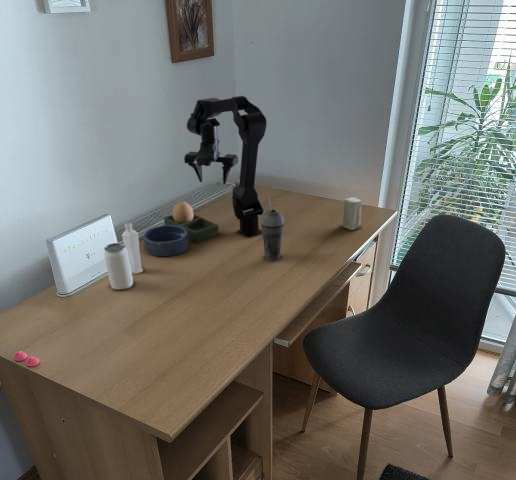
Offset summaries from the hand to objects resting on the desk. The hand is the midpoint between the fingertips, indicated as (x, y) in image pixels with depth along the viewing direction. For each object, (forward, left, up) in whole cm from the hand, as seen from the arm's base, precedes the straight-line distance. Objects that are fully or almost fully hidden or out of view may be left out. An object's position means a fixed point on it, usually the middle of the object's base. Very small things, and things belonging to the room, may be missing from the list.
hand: (212, 183), depth 182 cm
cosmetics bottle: (-44, -27, -12) cm, 53 cm away
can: (-24, +54, -12) cm, 60 cm away
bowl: (-12, +30, -12) cm, 34 cm away
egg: (-1, +15, -12) cm, 19 cm away
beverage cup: (-42, +10, -12) cm, 45 cm away
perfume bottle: (-19, +46, -12) cm, 51 cm away
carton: (-6, +15, -12) cm, 20 cm away
